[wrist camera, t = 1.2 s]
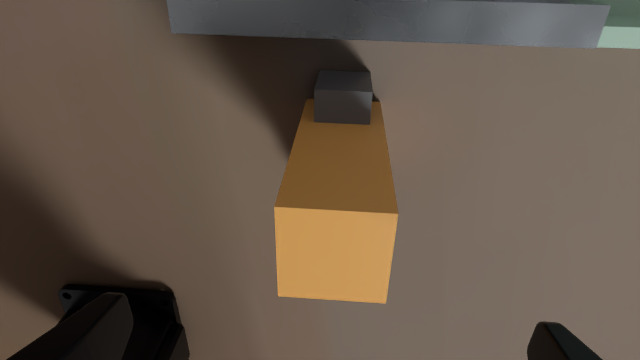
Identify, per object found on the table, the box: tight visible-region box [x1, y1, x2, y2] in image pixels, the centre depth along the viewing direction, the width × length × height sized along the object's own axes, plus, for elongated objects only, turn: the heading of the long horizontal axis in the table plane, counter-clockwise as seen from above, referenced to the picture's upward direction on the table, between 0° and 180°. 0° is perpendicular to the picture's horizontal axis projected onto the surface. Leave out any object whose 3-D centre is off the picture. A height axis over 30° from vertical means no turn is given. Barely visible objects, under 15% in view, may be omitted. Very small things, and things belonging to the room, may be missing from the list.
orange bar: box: [274, 70, 398, 303], centre depth 14 cm, size 3×5×8 cm, turn 179°
